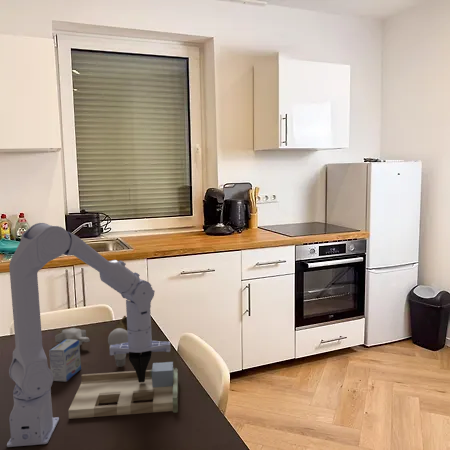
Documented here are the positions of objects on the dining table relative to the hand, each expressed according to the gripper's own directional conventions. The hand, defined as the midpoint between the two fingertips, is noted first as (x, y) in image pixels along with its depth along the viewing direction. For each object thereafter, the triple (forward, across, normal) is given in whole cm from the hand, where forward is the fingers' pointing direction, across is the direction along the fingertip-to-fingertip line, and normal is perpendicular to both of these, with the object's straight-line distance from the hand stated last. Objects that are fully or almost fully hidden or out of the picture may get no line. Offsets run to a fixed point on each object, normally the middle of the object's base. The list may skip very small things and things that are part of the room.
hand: (141, 380), depth 113 cm
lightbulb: (+3, +7, -16) cm, 17 cm away
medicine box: (+3, +21, -12) cm, 25 cm away
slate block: (+1, -5, 0) cm, 5 cm away
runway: (+3, +3, +4) cm, 6 cm away
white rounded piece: (+3, +25, -35) cm, 43 cm away
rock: (+3, +7, -34) cm, 34 cm away
